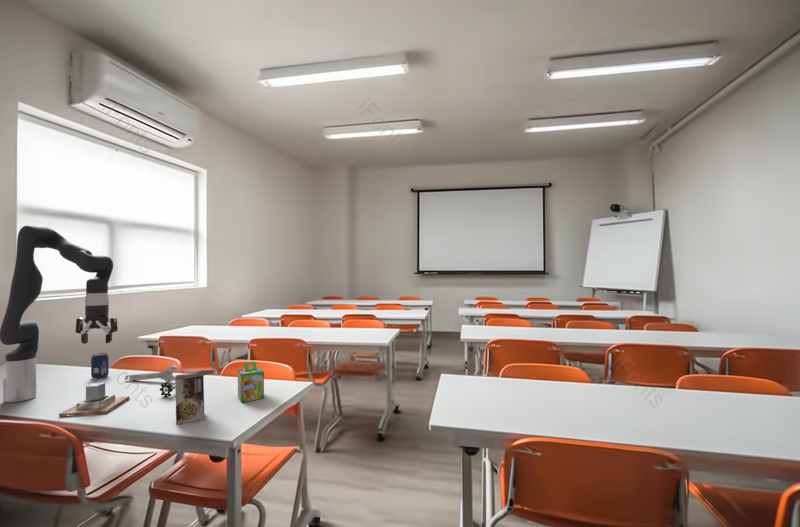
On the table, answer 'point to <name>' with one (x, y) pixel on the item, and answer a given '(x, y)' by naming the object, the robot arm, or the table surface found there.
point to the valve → (166, 389)
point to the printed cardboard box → (189, 397)
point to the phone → (206, 372)
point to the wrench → (156, 375)
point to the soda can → (99, 366)
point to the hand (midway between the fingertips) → (96, 343)
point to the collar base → (95, 406)
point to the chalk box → (250, 383)
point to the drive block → (95, 392)
